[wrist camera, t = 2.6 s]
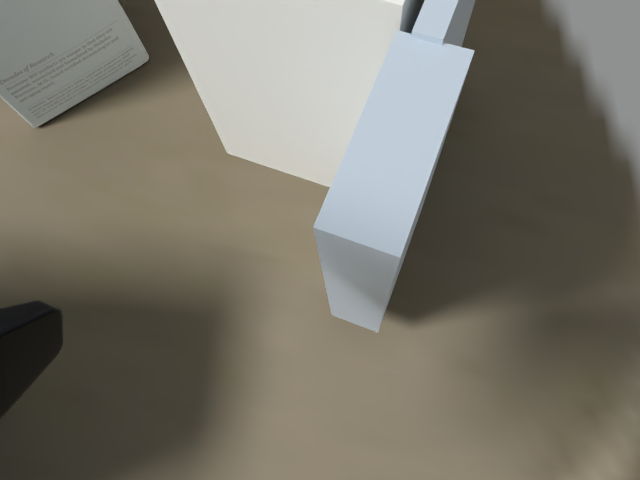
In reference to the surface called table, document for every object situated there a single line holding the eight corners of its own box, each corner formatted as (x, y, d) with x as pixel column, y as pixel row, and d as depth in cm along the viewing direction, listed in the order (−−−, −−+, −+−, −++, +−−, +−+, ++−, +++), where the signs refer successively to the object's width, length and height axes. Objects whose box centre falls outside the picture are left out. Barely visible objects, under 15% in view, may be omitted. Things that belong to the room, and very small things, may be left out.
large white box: (380, 204, 23) (409, -14, 12) (227, 153, 25) (112, -87, 13) (438, 53, 26) (510, -249, 14) (297, 15, 28) (255, -287, 16)
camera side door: (376, 335, 21) (401, 255, 10) (332, 318, 21) (312, 224, 11) (472, 66, 25) (558, -184, 14) (434, 55, 25) (491, -196, 15)
